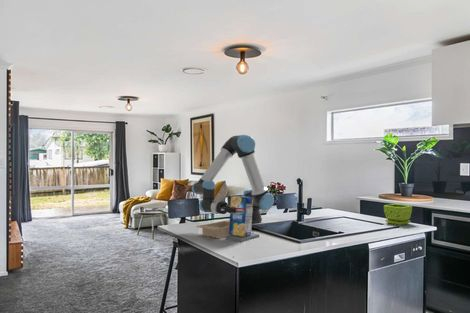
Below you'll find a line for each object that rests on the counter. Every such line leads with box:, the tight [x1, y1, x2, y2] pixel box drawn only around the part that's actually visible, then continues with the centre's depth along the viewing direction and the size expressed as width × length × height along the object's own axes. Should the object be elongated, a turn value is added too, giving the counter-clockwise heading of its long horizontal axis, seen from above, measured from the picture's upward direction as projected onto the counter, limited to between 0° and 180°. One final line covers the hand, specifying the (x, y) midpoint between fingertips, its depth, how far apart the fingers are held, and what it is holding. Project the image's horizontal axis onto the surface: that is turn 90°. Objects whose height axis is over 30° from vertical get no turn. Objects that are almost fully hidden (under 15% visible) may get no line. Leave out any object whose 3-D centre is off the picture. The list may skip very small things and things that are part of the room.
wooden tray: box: [196, 219, 230, 240], centre depth 215 cm, size 29×15×6 cm, turn 139°
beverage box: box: [229, 195, 253, 237], centre depth 205 cm, size 7×11×22 cm, turn 53°
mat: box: [225, 232, 260, 243], centre depth 205 cm, size 16×12×2 cm
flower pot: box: [383, 203, 413, 226], centre depth 248 cm, size 14×14×13 cm
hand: (250, 211), depth 201 cm, fingers open, 3 cm apart
